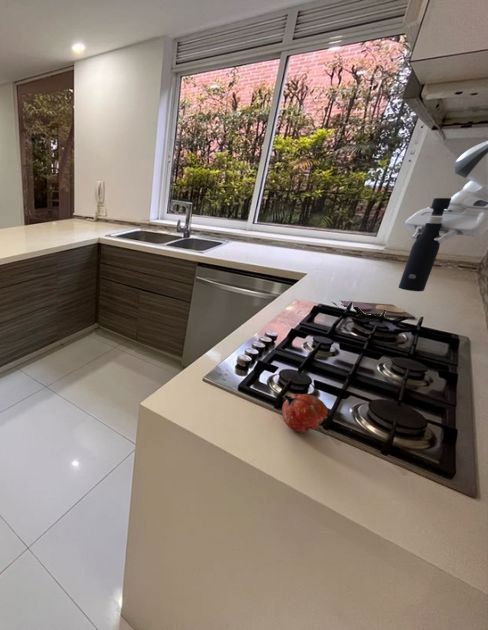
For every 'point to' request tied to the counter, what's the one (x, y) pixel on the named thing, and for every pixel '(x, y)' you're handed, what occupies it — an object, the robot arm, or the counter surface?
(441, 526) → the counter surface
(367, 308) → the plum plate
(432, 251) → the dark water bottle
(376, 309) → the placemat
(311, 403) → the pomegranate
